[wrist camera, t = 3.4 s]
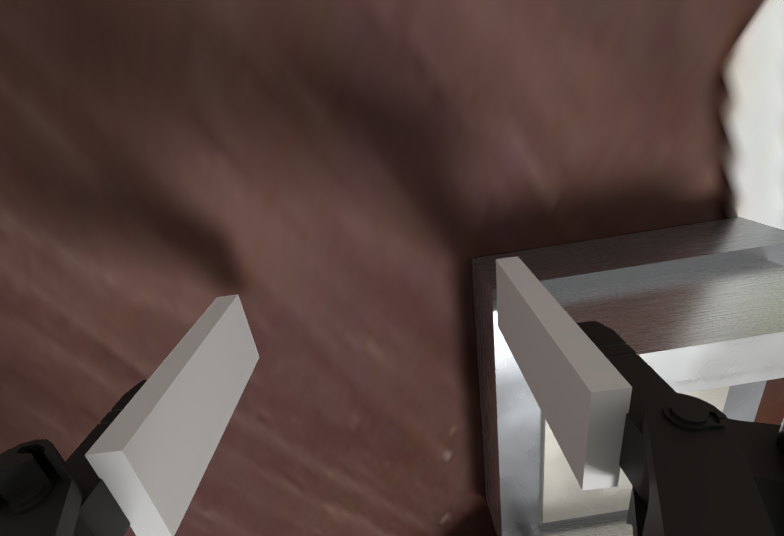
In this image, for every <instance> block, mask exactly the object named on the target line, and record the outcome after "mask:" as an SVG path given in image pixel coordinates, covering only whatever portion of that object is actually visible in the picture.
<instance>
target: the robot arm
mask: <svg viewBox="0 0 784 536" xmlns="http://www.w3.org/2000/svg"><path fill="white" fill-rule="evenodd" d="M496 284H497V317H498V328H499V330H500V332H501V333H502V335H503V337H504V339H505V341H506V343H507V345H508V347H509V349H510V351H511V353H512V355H513V357H514V359H515V361H516V363H517V365H518V367H519V368H520V370H521V372H522V374H523V376H524V378H525V380H526V382H527V384H528V386H529V388H530V390H531V392H532V394H533V396H534V398H535V400H536V402H537V404H538V405H539V407H540V409H541V411H542V413H543V415H544V417H545V419H546V421H547V423H548V425H549V427H550V429H551V431H552V433H553V435H554V437H555V439H556V440H557V442H558V444H559V446H560V448H561V450H562V452H563V454H564V456H565V458H566V460H567V462H568V464H569V466H570V468H571V470H572V472H573V474H574V475H575V477H576V479H577V481H578V483H579V485H580V487H581V489H582V491H583V490H591V489H600V488H609V487H618V481H619V474H620V468H621V469H622V470H623V472H624V473H625V475H626V476H627V478H628V479H629V481H630V483H631V484H632V492H631V497H630V503H629V509H628V515H627V521H626V524H630V525H632V528H633V536H784V419H783V421H782V424H781V425H774V424H765V423H757V422H748V421H740V420H734V419H729V418H727V416H726V415H725V414H724V413H723V412H721V411H720V410H719V409H717V408H716V407H715V406H714V405H712V404H710V403H708V402H706V401H703V400H701V399H699V398H697V397H693V396H690V395H686V394H682V393H677V392H676V391H675V390H674V389H673V388H672V387H671V386H670V385H669V384H668V383H667V382H666V381H665V380H663V379H662V378H661V377H660V376H659V375H658V374H657V373H656V372H655V371H654V370H653V369H652V368H651V367H650V366H649V365H648V364H647V363H646V362H645V361H644V360H643V359H642V358H641V357H640V356H639V355H636V352H635V351H634V350H633V349H632V348H631V347H630V346H629V345H626V342H625V341H624V340H623V339H622V338H621V337H620V336H619V335H618V334H617V333H616V332H615V331H614V330H613V329H611V328H609V327H607V326H605V325H603V324H601V323H599V322H597V321H588V322H580V323H576V322H575V321H574V320H573V319H572V318H571V317H570V316H569V314H568V313H567V312H566V311H565V310H564V309H563V307H562V306H561V305H560V304H559V303H558V302H557V301H556V299H555V298H554V297H553V296H552V295H551V294H550V293H549V291H548V290H547V289H546V288H545V287H544V286H543V285H542V283H541V282H540V281H539V280H538V279H537V278H536V277H535V275H534V274H533V273H532V272H531V271H530V270H529V269H528V267H527V266H526V265H525V264H524V263H523V262H522V261H521V259H520V258H519V257H518V256H516V257H509V258H502V259H496ZM258 359H259V355H258V352H257V349H256V346H255V343H254V340H253V337H252V334H251V331H250V328H249V325H248V322H247V319H246V316H245V313H244V310H243V307H242V304H241V301H240V298H239V295H238V294H236V295H229V296H222V297H217V298H216V299H215V300H214V301H213V303H212V304H211V305H210V306H209V307H208V309H207V310H206V311H205V312H204V313H203V315H202V316H201V317H200V318H199V319H198V321H197V322H196V323H195V324H194V325H193V326H192V328H191V329H190V330H189V331H188V332H187V334H186V335H185V336H184V337H183V338H182V340H181V341H180V342H179V343H178V344H177V346H176V347H175V348H174V349H173V350H172V352H171V353H170V354H169V355H168V356H167V357H166V359H165V360H164V361H163V362H162V363H161V365H160V366H159V367H158V368H157V369H156V371H155V372H154V373H153V374H152V375H151V377H150V378H149V379H148V380H143V381H141V382H140V383H139V384H137V385H136V386H135V387H133V388H132V389H131V390H129V391H128V392H127V393H125V394H124V395H123V397H122V398H121V399H120V400H119V401H118V402H117V403H116V405H115V406H114V407H113V408H112V411H111V412H109V413H108V414H107V415H106V416H105V417H104V418H103V419H102V421H101V424H98V425H97V426H96V427H95V429H94V430H93V431H92V432H91V433H90V434H89V435H88V436H87V438H86V439H85V440H84V441H83V442H82V443H81V444H80V446H79V447H78V448H77V449H76V450H75V451H74V452H73V454H72V455H71V456H70V457H69V458H68V459H67V460H66V462H65V461H64V460H63V458H62V457H61V455H60V454H59V452H58V451H57V449H56V448H55V447H54V445H53V444H52V443H51V442H50V441H48V440H47V439H45V440H33V441H30V442H26V443H23V444H20V445H18V446H16V447H14V448H12V449H9V450H7V451H5V452H3V453H2V454H0V536H123V535H124V534H125V532H126V530H127V529H128V527H129V525H130V526H131V528H132V530H133V531H134V533H135V534H136V536H175V533H176V531H177V529H178V527H179V525H180V523H181V521H182V519H183V517H184V515H185V512H186V510H187V508H188V506H189V504H190V502H191V500H192V498H193V496H194V494H195V491H196V489H197V487H198V485H199V483H200V481H201V479H202V477H203V475H204V473H205V470H206V468H207V466H208V464H209V462H210V460H211V458H212V456H213V454H214V452H215V449H216V447H217V445H218V443H219V441H220V439H221V437H222V435H223V433H224V431H225V428H226V426H227V424H228V422H229V420H230V418H231V416H232V414H233V412H234V410H235V407H236V405H237V403H238V401H239V399H240V397H241V395H242V393H243V391H244V389H245V386H246V384H247V382H248V380H249V378H250V376H251V374H252V372H253V370H254V368H255V365H256V363H257V361H258Z"/></svg>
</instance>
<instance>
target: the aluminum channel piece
mask: <svg viewBox="0 0 784 536" xmlns="http://www.w3.org/2000/svg"><path fill="white" fill-rule="evenodd" d="M516 256H518V257H519V258H520V259H521V261H522V262H523V263H524V264H525V265H526V266H527V267H528V269H529V270H530V271H531V272H532V273H533V274H534V275H535V277H536V278H537V279H538V280H539V281H540V282H541V283H542V285H543V286H544V287H545V288H546V289H547V290H548V291H549V293H550V294H551V295H552V296H553V297H554V298H555V299H556V301H557V302H558V303H559V304H560V305H561V306H562V307H563V309H564V310H565V311H566V312H567V313H568V314H569V316H570V317H571V318H572V319H573V320H574V321H575V322H576V323H580V322H588V321H597V322H599V323H601V324H603V325H605V326H607V327H609V328H611V329H613V330H614V331H615V332H616V333H617V334H618V335H619V336H620V337H621V338H622V339H623V340H624V341H625V342H626V345H629V346H630V347H631V348H632V349H633V350H634V351H635V352H636V355H639V356H640V357H641V358H642V359H643V360H644V361H645V362H646V363H647V364H648V365H649V366H650V367H651V368H652V369H653V370H654V371H655V372H656V373H657V374H658V375H659V376H660V377H661V378H662V379H663V380H665V381H666V382H667V383H668V384H669V385H670V386H671V387H672V388H673V389H674V390H675V391H676V392H677V393H682V394H686V395H690V396H693V397H697V398H699V399H701V400H703V401H706V402H708V403H710V404H712V405H714V406H715V407H716V408H717V409H719V410H720V411H721V412H723V413H724V414H725V415H726V416H727V418H729V419H734V420H740V421H748V422H754V419H755V416H756V413H757V410H758V407H759V404H760V400H761V397H762V394H763V391H764V388H765V385H766V381H767V380H771V379H777V378H783V377H784V230H781V229H778V228H774V227H771V226H768V225H764V224H761V223H758V222H754V221H751V220H747V219H744V218H741V217H735V218H729V219H722V220H716V221H710V222H703V223H697V224H690V225H684V226H677V227H671V228H664V229H658V230H652V231H645V232H639V233H632V234H626V235H619V236H613V237H607V238H600V239H594V240H587V241H581V242H574V243H568V244H561V245H555V246H549V247H542V248H536V249H529V250H523V251H516V252H510V253H504V254H497V255H491V256H484V257H478V258H471V261H472V277H473V293H474V309H475V326H476V342H477V358H478V374H479V390H480V407H481V423H482V439H483V455H484V472H485V488H486V501H487V504H488V508H489V511H490V514H491V517H492V520H493V524H494V527H495V530H496V533H497V536H633V528H632V525H630V524H626V521H627V515H628V509H629V503H630V497H631V492H632V484H631V483H630V481H629V479H628V478H627V476H626V475H625V473H624V472H623V470H622V469H621V468H620V474H619V481H618V487H609V488H600V489H591V490H583V491H582V489H581V487H580V485H579V483H578V481H577V479H576V477H575V475H574V474H573V472H572V470H571V468H570V466H569V464H568V462H567V460H566V458H565V456H564V454H563V452H562V450H561V448H560V446H559V444H558V442H557V440H556V439H555V437H554V435H553V433H552V431H551V429H550V427H549V425H548V423H547V421H546V419H545V417H544V415H543V413H542V411H541V409H540V407H539V405H538V404H537V402H536V400H535V398H534V396H533V394H532V392H531V390H530V388H529V386H528V384H527V382H526V380H525V378H524V376H523V374H522V372H521V370H520V368H519V367H518V365H517V363H516V361H515V359H514V357H513V355H512V353H511V351H510V349H509V347H508V345H507V343H506V341H505V339H504V337H503V335H502V333H501V332H500V330H499V328H498V317H497V284H496V259H502V258H509V257H516Z"/></svg>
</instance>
